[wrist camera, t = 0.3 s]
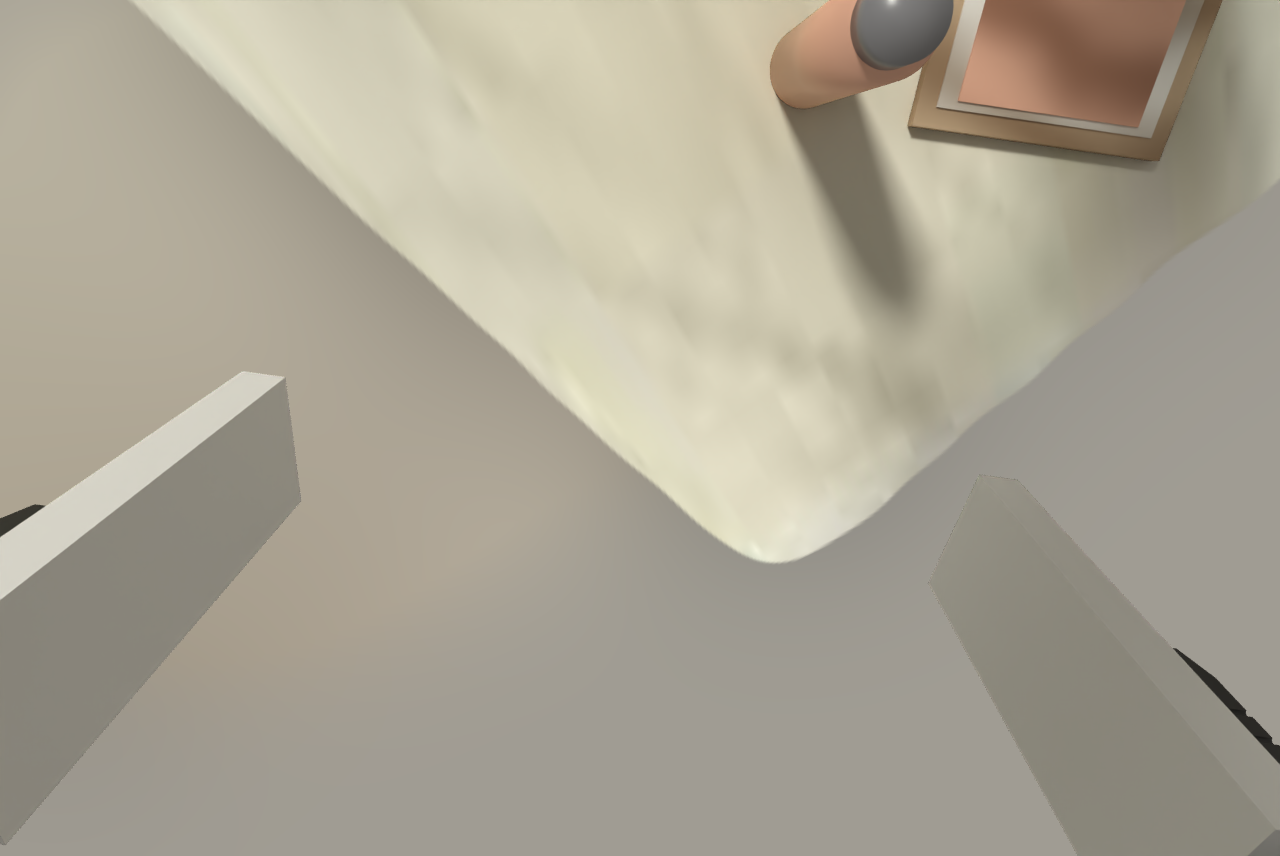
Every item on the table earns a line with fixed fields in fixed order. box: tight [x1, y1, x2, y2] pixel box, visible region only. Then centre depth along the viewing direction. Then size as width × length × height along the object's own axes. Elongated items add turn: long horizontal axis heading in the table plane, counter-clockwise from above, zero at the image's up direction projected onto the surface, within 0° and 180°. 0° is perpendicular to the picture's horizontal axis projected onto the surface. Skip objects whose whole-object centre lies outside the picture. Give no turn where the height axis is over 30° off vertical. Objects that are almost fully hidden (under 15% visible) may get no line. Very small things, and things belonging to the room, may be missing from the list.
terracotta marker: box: [770, 0, 954, 109], centre depth 27 cm, size 4×4×12 cm
